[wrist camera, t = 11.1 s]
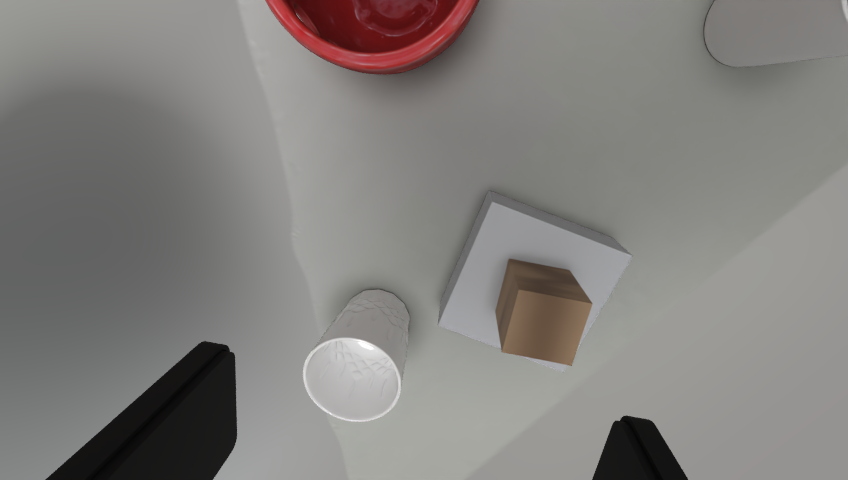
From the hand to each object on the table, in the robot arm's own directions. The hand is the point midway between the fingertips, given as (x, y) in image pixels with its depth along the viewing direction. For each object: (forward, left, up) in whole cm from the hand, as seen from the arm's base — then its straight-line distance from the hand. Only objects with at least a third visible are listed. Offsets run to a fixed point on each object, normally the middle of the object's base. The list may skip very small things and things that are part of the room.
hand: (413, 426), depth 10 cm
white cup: (+5, +14, -28) cm, 32 cm away
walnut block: (-8, +6, -23) cm, 25 cm away
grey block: (-8, +6, -28) cm, 30 cm away
